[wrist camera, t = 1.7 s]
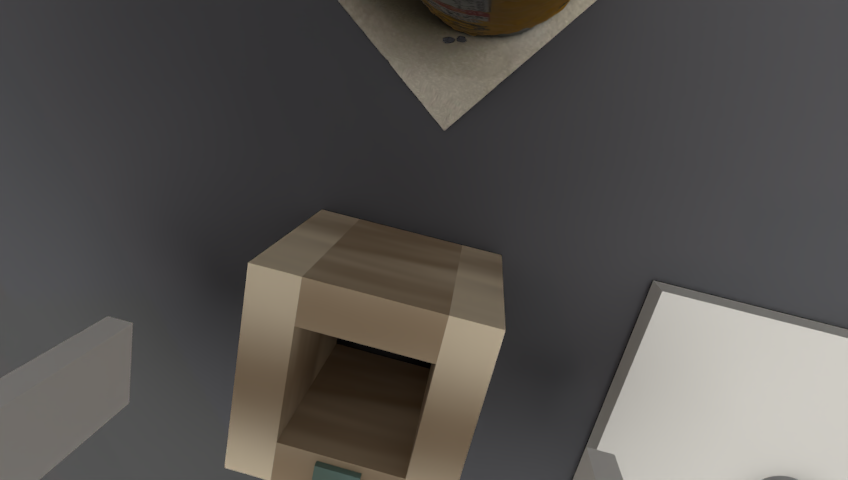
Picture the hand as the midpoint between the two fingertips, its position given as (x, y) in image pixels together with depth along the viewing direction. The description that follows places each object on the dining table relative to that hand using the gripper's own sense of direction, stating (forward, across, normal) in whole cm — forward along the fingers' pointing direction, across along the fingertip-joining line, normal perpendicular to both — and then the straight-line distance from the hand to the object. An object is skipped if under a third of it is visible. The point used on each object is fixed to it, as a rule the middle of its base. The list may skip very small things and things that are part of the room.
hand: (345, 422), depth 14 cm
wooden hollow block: (+6, 0, 0) cm, 6 cm away
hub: (+6, +16, -2) cm, 17 cm away
